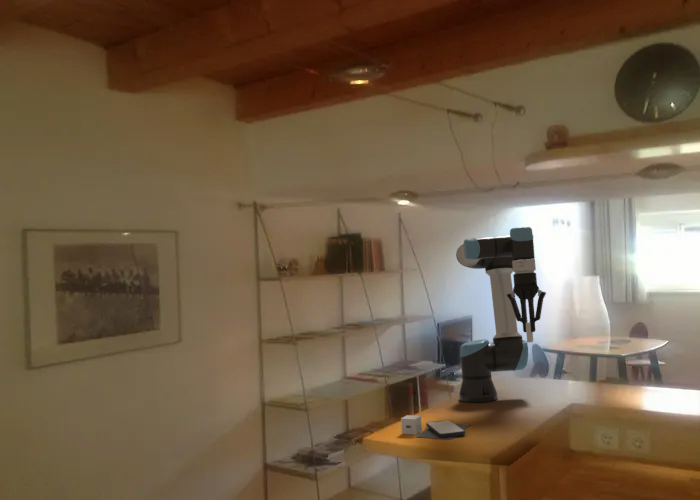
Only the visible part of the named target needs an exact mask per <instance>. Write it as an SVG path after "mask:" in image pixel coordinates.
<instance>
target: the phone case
mask: <svg viewBox="0 0 700 500" xmlns="http://www.w3.org/2000/svg"><path fill="white" fill-rule="evenodd" d="M425 424H426V428H427V429H428V428H429V429H430V430H431V431H432V432H433V433H435V434H436V435H437V436H438V437H440V438H447V437H454V438H455V437H463V436H465V435H466V431H465V429H464V430H463V429H462V428H460V427H459V426H457V425H456V424H457V423H454V422H453V421H452V420H448V419H446V420H437V421H430V422H426V423H425Z"/></svg>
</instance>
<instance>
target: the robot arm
mask: <svg viewBox="0 0 700 500" xmlns="http://www.w3.org/2000/svg"><path fill="white" fill-rule="evenodd" d="M455 256H456V260H457V262H458V264H460V265H461V266H463V267H466V268H469V269H484V270H485V274H486V275H488V276H489V280H490V290H491V299H492V307H493V315H494V316H493V317H494V326H495V327H494V328H495V334H494V335H493V338H492V342H490V341H489V339H487V338H486V339H476V340H470V341H467V342H464V343H463V344H461V345H460V347H459V351H460V352H459V354H460V355H459V357H460V364H461V365H460V366H461V379H462V382H461V386H460V389H459V394H458V396H459V397H458V399H459V401H461V402H463V403H464V402H465V403H487V402H493V401H496V400H497V399H499V398H498V391H497V389H496V386H495V384H494V382H493V379H492V373H494V372H511V371H512V372H513V371H514V372H515V371H520V370H524V369H526V367H527V365H528V360H529V346H528V343H533V342H534V333H535V332H536V322H537V321H540V320H541V316H542V310H543V304H544V298H545V297H546V295H547V292H546V291H543V290H540V288H539V286H538V281H537V273H536V272H535V271H537V270H536V269H537V268H536V259H535V257H536V256H535V245H534V234H533V229H532V227H530V226H520V227H513V228H511V229H510V230H509V235H500V236H489V237H471V238H466V239H464V241H463V243H462V244H461V245H459V247H458V248H457V249H456V255H455ZM512 273H513V274H512ZM512 275H513V281H512ZM513 285H514V286H513ZM536 295H537V297H538V298H537V304H536V310H535V306H534V299H535V297H536ZM516 296H517V298H518V299H519V302H520V309H519V305H518V302H517V300H516ZM527 304H528V313H529V316H528V313H527ZM520 311H521V312H520ZM528 317H529V320H528ZM528 321H529V322H528ZM517 322H520V323H522V331H523V332H524V333H526V340H525V339H523V336H522V334H520V332H519V331H518V324H517Z"/></svg>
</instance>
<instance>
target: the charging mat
mask: <svg viewBox="0 0 700 500" xmlns="http://www.w3.org/2000/svg"><path fill="white" fill-rule="evenodd" d="M455 424H456V425H457V426H459V427H460V428H462V429H463V430H464V431H465V429H467V428H468V427H469V426H471V424H467V423H455ZM415 438H419V439H420V438H422V439H423V438H424V439H425V438H426V439H439V440H452V439H454V438H455V437H447V438H440V437H438V436H437V435H436V434H435V433H433V432H432V431H431V430H430V429H429V428H427V429H425V430H422V431H421V432H420V433H418V434H417V435H415Z"/></svg>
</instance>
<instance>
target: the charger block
mask: <svg viewBox="0 0 700 500" xmlns="http://www.w3.org/2000/svg"><path fill="white" fill-rule="evenodd" d="M400 423H401V425H400V427H401V434H402V435H411V434H412V436H413V435H415V436H417V435H419V434H420V433H422V432H423V430H422V429H423V427H422V416H421V415H409V414H407V415H405V416H403V417H401V418H400Z"/></svg>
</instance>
